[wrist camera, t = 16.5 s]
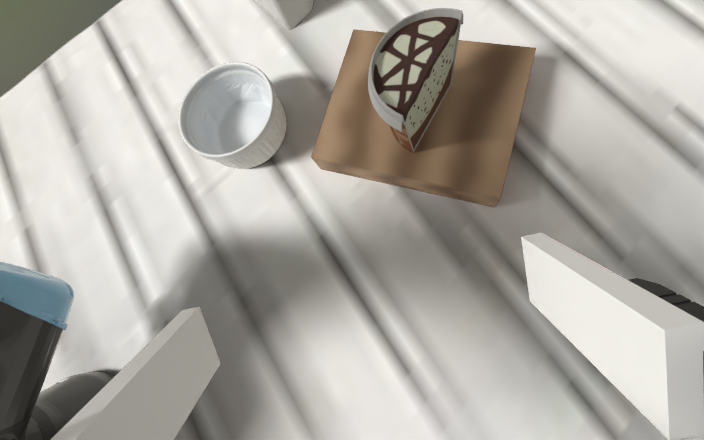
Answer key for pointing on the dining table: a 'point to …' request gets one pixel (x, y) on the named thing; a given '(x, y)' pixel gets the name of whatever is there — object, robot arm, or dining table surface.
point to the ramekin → (233, 116)
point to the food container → (414, 71)
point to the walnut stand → (431, 124)
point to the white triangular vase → (287, 10)
